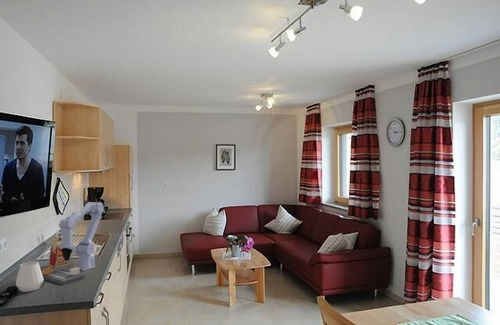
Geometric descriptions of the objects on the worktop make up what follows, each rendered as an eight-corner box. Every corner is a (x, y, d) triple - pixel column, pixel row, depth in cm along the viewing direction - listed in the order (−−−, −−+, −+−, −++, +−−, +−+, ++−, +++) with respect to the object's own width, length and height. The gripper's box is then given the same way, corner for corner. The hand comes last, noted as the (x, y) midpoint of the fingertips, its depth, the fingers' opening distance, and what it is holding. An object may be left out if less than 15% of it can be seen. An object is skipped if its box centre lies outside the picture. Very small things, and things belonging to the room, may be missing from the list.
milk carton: (69, 264, 246) (68, 235, 246) (55, 268, 239) (55, 237, 238) (61, 262, 252) (61, 233, 251) (48, 265, 244) (47, 236, 243)
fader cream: (76, 272, 221) (76, 266, 221) (79, 273, 220) (79, 267, 220) (69, 274, 217) (69, 268, 217) (72, 275, 216) (72, 269, 216)
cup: (13, 288, 202) (12, 263, 202) (40, 282, 211) (39, 258, 211) (18, 295, 192) (18, 269, 192) (46, 288, 202) (46, 263, 201)
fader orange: (49, 271, 223) (49, 265, 223) (52, 272, 222) (52, 266, 222) (42, 273, 219) (42, 267, 219) (45, 274, 218) (45, 268, 218)
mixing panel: (58, 271, 232) (58, 268, 232) (84, 278, 219) (84, 274, 219) (38, 277, 220) (38, 273, 220) (63, 284, 207) (63, 281, 207)
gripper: (53, 238, 224) (53, 260, 224) (67, 241, 216) (68, 263, 217) (64, 236, 230) (64, 257, 230) (78, 238, 222) (78, 260, 223)
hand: (67, 260), depth 224 cm, fingers closed
